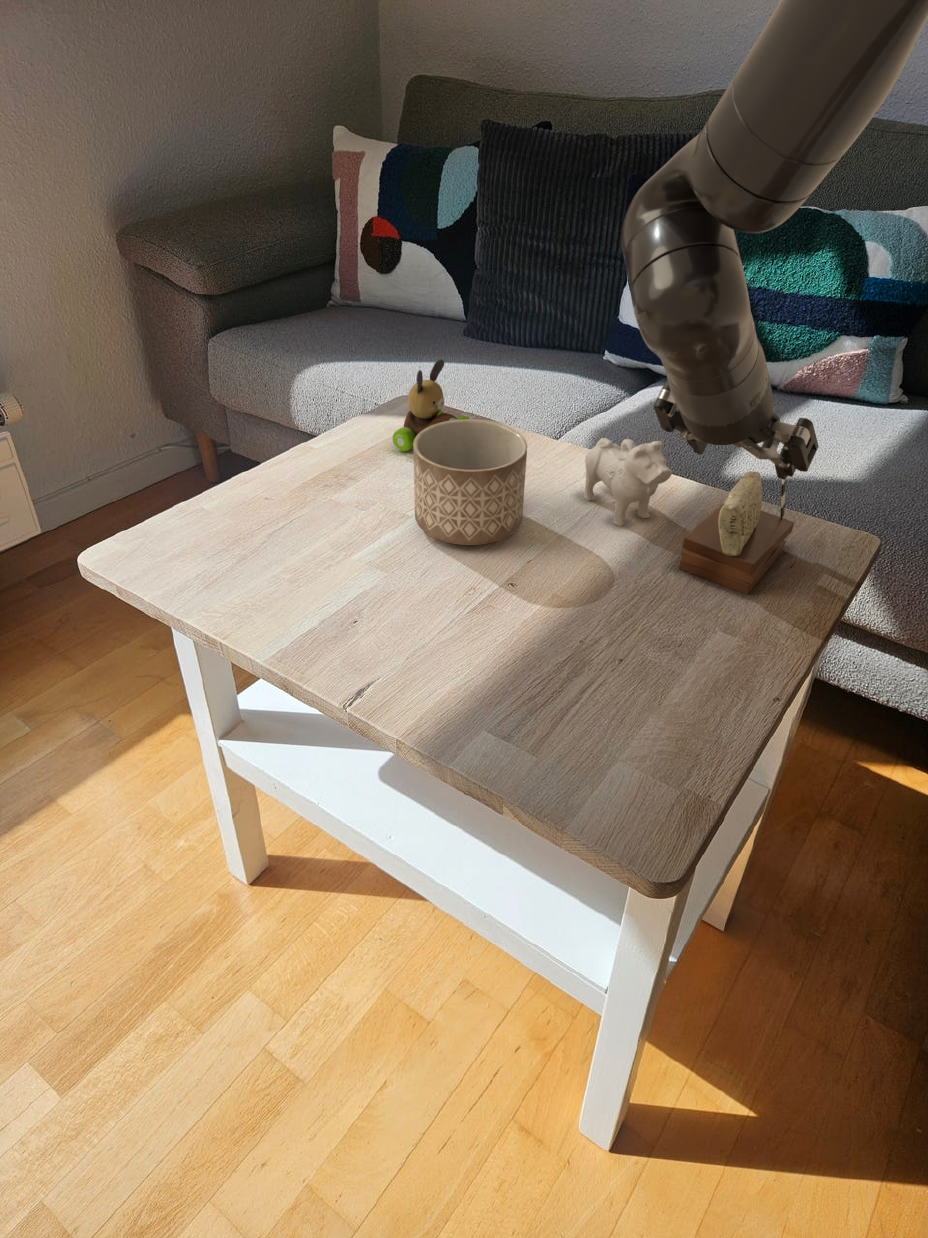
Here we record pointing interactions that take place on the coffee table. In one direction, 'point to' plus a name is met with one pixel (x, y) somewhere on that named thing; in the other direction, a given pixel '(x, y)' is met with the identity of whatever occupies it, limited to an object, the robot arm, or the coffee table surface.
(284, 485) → the coffee table surface
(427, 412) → the bunny pull toy
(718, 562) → the slab pile
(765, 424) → the robot arm
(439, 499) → the planter
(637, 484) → the dog figurine
